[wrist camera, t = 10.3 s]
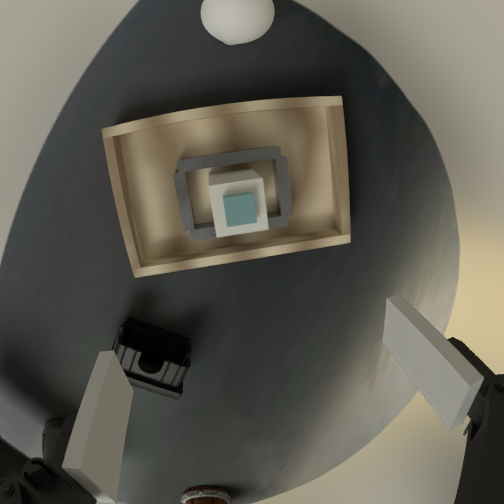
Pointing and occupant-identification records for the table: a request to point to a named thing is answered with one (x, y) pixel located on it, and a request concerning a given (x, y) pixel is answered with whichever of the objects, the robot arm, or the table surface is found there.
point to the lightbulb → (237, 19)
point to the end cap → (153, 357)
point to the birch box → (223, 140)
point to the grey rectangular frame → (229, 158)
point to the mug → (205, 496)
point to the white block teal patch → (237, 201)
